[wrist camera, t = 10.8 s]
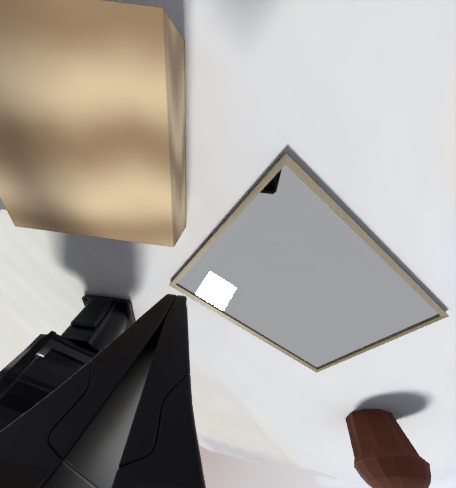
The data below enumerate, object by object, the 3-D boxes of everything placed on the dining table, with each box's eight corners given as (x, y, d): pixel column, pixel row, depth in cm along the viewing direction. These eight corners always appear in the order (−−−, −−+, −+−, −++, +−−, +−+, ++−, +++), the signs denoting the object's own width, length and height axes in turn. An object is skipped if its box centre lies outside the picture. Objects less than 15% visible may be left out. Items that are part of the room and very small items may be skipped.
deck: (185, 227, 20) (173, 247, 17) (54, 210, 20) (15, 226, 17) (184, 40, 13) (162, 7, 9) (-20, 15, 13) (-115, -26, 10)
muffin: (346, 430, 44) (370, 504, 35) (331, 411, 39) (356, 489, 31) (406, 424, 40) (450, 505, 31) (397, 402, 35) (446, 489, 27)
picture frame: (171, 279, 25) (314, 365, 32) (169, 285, 24) (316, 372, 31) (284, 152, 16) (441, 309, 24) (286, 153, 15) (449, 315, 23)
